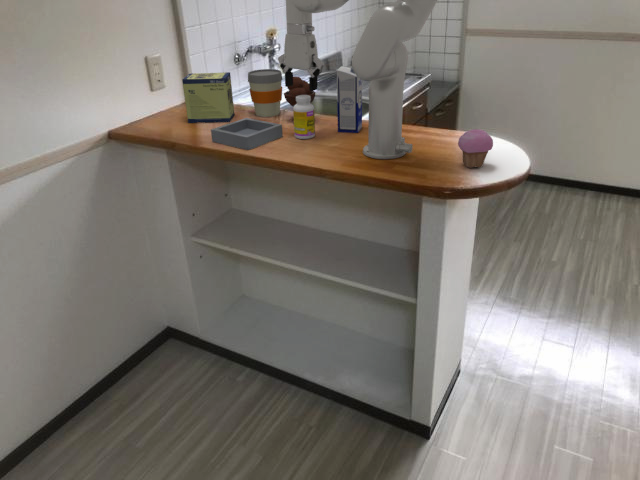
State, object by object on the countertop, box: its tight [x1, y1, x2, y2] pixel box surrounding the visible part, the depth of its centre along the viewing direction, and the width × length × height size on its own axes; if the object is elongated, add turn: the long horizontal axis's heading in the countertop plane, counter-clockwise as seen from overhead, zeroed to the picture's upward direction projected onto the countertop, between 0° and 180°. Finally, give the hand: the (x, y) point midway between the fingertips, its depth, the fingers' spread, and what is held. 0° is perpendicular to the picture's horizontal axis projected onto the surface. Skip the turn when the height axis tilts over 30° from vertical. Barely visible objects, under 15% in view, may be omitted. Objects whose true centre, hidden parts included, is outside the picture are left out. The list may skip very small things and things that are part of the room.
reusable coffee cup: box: [247, 68, 283, 118], centre depth 198 cm, size 13×13×15 cm
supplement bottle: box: [292, 95, 316, 140], centre depth 172 cm, size 7×7×13 cm
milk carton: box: [336, 65, 363, 134], centre depth 175 cm, size 7×7×20 cm
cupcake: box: [457, 128, 494, 169], centre depth 144 cm, size 9×9×10 cm
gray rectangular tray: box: [210, 117, 284, 151], centre depth 173 cm, size 16×16×4 cm
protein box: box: [181, 71, 235, 124], centre depth 194 cm, size 10×16×16 cm
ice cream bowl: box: [283, 76, 317, 121], centre depth 189 cm, size 11×11×15 cm
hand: (301, 87), depth 168 cm, fingers open, 9 cm apart
